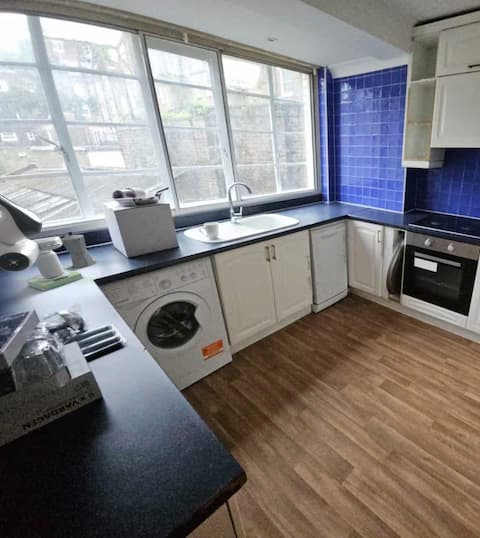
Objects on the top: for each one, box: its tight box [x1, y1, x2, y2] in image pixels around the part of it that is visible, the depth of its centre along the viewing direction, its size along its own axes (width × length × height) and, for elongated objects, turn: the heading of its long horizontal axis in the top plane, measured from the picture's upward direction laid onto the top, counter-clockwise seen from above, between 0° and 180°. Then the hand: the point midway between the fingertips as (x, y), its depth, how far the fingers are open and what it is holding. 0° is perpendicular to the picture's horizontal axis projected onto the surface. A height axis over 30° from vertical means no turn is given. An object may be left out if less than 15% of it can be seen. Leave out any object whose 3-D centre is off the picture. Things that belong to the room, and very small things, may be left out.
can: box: [34, 249, 65, 278], centre depth 133 cm, size 8×8×12 cm
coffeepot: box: [60, 231, 95, 269], centre depth 153 cm, size 15×9×18 cm, turn 67°
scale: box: [26, 268, 83, 292], centre depth 136 cm, size 14×14×3 cm
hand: (28, 242), depth 119 cm, fingers open, 8 cm apart
